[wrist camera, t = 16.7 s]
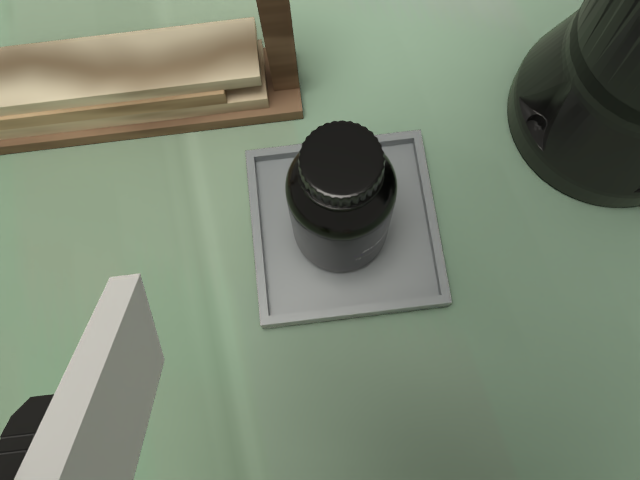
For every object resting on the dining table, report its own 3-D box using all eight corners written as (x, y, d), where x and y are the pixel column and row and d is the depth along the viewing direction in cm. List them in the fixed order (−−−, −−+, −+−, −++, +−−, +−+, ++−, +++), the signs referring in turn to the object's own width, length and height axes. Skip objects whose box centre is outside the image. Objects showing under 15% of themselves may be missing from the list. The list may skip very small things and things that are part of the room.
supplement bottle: (385, 277, 44) (401, 224, 32) (290, 271, 44) (271, 216, 32) (390, 187, 46) (405, 106, 34) (298, 182, 46) (283, 100, 34)
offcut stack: (0, 80, 49) (-29, 50, 45) (263, 48, 49) (256, 16, 45) (-3, 140, 47) (-33, 115, 43) (269, 107, 47) (263, 79, 43)
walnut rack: (-35, 92, 50) (-226, -80, 33) (295, 52, 50) (272, -138, 33) (-39, 159, 48) (-243, 14, 31) (303, 118, 48) (283, -48, 31)
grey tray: (248, 159, 47) (245, 150, 46) (418, 138, 47) (420, 129, 46) (262, 328, 43) (260, 325, 42) (448, 306, 43) (451, 302, 42)
